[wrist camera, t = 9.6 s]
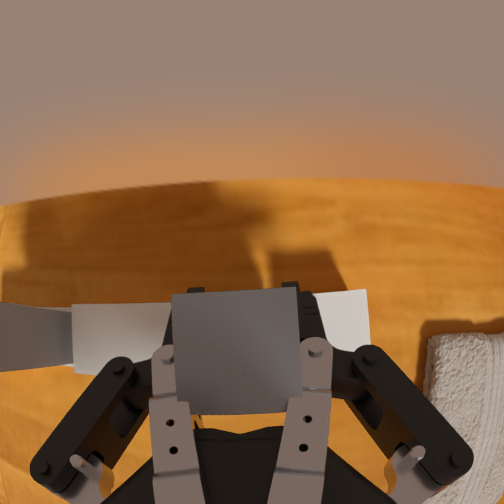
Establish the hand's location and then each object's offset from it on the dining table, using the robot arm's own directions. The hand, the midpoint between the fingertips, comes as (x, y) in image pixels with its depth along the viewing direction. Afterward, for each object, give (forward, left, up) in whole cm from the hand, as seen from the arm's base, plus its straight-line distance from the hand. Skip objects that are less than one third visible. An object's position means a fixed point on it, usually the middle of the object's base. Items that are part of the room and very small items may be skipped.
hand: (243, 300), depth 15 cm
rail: (-6, +4, -7) cm, 10 cm away
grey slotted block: (-2, -1, -4) cm, 5 cm away
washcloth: (+1, -21, -7) cm, 22 cm away
